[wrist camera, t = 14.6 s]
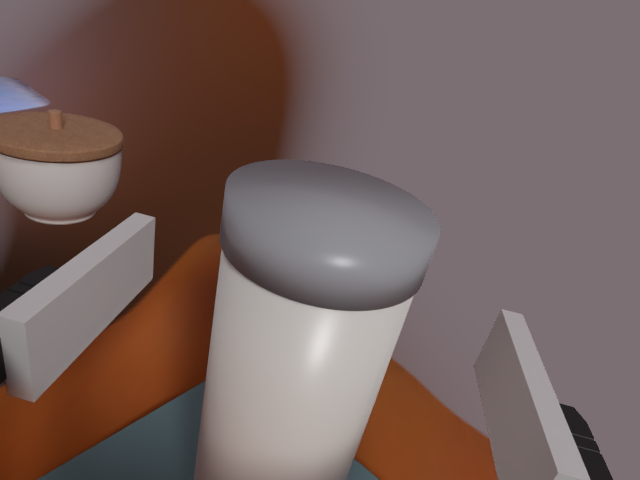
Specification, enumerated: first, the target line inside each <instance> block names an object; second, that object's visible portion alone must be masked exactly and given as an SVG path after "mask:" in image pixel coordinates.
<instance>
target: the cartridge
mask: <svg viewBox="0 0 640 480" xmlns="http://www.w3.org/2000/svg"><path fill="white" fill-rule="evenodd" d="M440 233H441V226H440V223H439V220H438V219H437V217H436V215H435V214H434V213H433V212H432V210H431V209H430V208H429V207H427V206H426V205H425V204H424V203H423V202H422V201H420V200H419V199H418V198H416V197H415V196H413V195H412V194H410V193H408V192H407V191H405V190H403V189H401V188H399V187H397V186H395V185H393V184H391V183H389V182H386V181H384V180H382V179H379V178H377V177H374V176H371V175H368V174H365V173H362V172H359V171H355V170H352V169H348V168H344V167H340V166H335V165H330V164H325V163H318V162H311V161H302V160H269V161H261V162H256V163H251V164H248V165H245V166H243V167H240V168H238V169H237V170H235V171H234V172H232V173H231V175H230V176H229V177H228V179H227V181H226V186H225V195H224V203H223V212H222V220H221V229H220V245H221V248H222V249H221V258H220V266H219V274H218V282H217V291H216V299H215V307H214V315H213V323H212V332H211V340H210V348H209V356H208V364H207V373H206V381H205V389H204V397H203V405H202V414H201V422H200V430H199V438H198V447H197V455H196V463H195V471H194V479H193V480H346V479H347V476H348V473H349V470H350V468H351V465H352V462H353V460H354V457H355V454H356V451H357V449H358V446H359V443H360V441H361V438H362V435H363V432H364V430H365V427H366V424H367V421H368V419H369V416H370V413H371V411H372V408H373V405H374V402H375V400H376V397H377V394H378V392H379V389H380V386H381V383H382V381H383V378H384V375H385V372H386V370H387V367H388V364H389V362H390V359H391V356H392V353H393V351H394V348H395V345H396V342H397V340H398V337H399V334H400V332H401V329H402V326H403V323H404V320H405V318H406V315H407V313H408V310H409V307H410V304H411V302H412V299H413V296H414V295H415V294H416V293H417V292H418V290H419V289H420V287H421V285H422V282H423V280H424V277H425V274H426V271H427V269H428V266H429V263H430V261H431V258H432V255H433V253H434V250H435V247H436V245H437V242H438V239H439V236H440Z"/></svg>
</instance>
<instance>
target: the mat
mask: <svg viewBox="0 0 640 480" xmlns="http://www.w3.org/2000/svg"><path fill="white" fill-rule="evenodd" d="M204 389H205V381H204V382H202V383H201V384H199V385H197V386H195V387H194V388H192V389H190V390H189V391H187V392H185V393H184V394H182V395H180V396H178V397H177V398H175V399H173V400H172V401H170V402H168V403H167V404H165V405H163V406H161V407H160V408H158V409H156V410H155V411H153V412H151V413H150V414H148V415H146V416H144V417H143V418H141V419H139V420H138V421H136V422H134V423H132V424H131V425H129V426H127V427H126V428H124V429H122V430H121V431H119V432H117V433H115V434H114V435H112V436H110V437H109V438H107V439H105V440H104V441H102V442H100V443H98V444H97V445H95V446H93V447H92V448H90V449H88V450H87V451H85V452H83V453H81V454H80V455H78V456H76V457H75V458H73V459H71V460H69V461H68V462H66V463H64V464H63V465H61V466H59V467H58V468H56V469H54V470H52V471H51V472H49V473H47V474H46V475H44V476H42V477H41V478H39V479H37V480H193V479H194V471H195V463H196V455H197V447H198V438H199V430H200V422H201V414H202V405H203V397H204ZM346 480H379V479H378V478H377V477H375V476H374V475H373V474H372V473H371V472H369V471H368V470H367V469H366V468H365V467H364V466H362V465H361V464H360V463H359V462H358V461H357V460H355V459H354V460H353V462H352V465H351V468H350V470H349V473H348V476H347V479H346Z"/></svg>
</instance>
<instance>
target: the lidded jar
mask: <svg viewBox="0 0 640 480" xmlns="http://www.w3.org/2000/svg"><path fill="white" fill-rule="evenodd" d="M122 148H123V134H122V133H121V132H120V130H119V129H117V128H116V127H114V126H113V125H111V124H108V123H106V122H103V121H100V120H97V119H94V118H90V117H85V116H80V115H74V114H66V113H62V111H61V110H57V109H50V110H48V112H18V113H11V114H4V115H0V194H1V195H2V196H3V197H4V198H5V199H6V200H7V202H8V203H10V204H11V205H12V206H14V207H15V208H16V209H18V210H20V211H22V212H23V214H24V215H25V216H26V217H27V218H29V219H31V220H33V221H35V222H39V223H44V224H53V225H67V224H74V223H79V222H83V221H86V220H88V219H90V218H92V217H93V216H94V215H95V214H96V212H97V210H99V209H100V208H102V207H103V206H104V205H105V204H106V203H107V202H108V201H109V200H110V198H111V197H112V195H113V194H114V192H115V189H116V187H117V185H118V181H119V178H120V172H121V163H122Z"/></svg>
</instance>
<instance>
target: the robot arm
mask: <svg viewBox="0 0 640 480" xmlns="http://www.w3.org/2000/svg"><path fill="white" fill-rule="evenodd" d="M154 233H155V218H154V217H151V216H147V215H143V214H140V213H135V214H133V215H132V216H130V217H129V218H128V219H126V220H125V221H124V222H122V223H121V224H119V225H118V226H117V227H115V228H114V229H112V230H111V231H110V232H108V233H107V234H106V235H104V236H103V237H102V238H100V239H99V240H97V241H96V242H95V243H93V244H92V245H91V246H89V247H88V248H87V249H85V250H84V251H83V252H81V253H80V254H78V255H77V256H75V257H74V258H73V259H71V260H70V261H69V262H67V263H66V264H65V265H63V266H62V267H60V268H57V267H53V266H47V267H44V268H41V269H38V270H35V271H33V272H31V273H29V274H28V275H26V276H25V277H23V278H22V279H20V280H19V281H18V283H15V284H13V285H12V286H10V287H9V288H8V289H7V291H6V290H4V291H3V292H1V293H0V384H1V383H2V382H3V381H4V380H6V387H7V393H8V395H10V396H13V397H17V398H20V399H23V400H27V401H30V402H35V401H36V400H37V399H38V398H39V397H40V396H41V395H42V394H43V393H44V392H45V391H46V390H47V389H48V388H49V386H50V385H51V384H52V383H53V382H54V381H55V380H56V379H57V378H58V377H59V376H60V375H61V374H62V373H63V372H64V371H65V370H66V369H67V368H68V367H69V366H70V365H71V363H72V362H73V361H74V360H75V359H76V358H77V357H78V356H79V355H80V354H81V353H82V352H83V351H84V350H85V349H86V348H87V347H88V346H89V345H90V344H91V343H92V341H93V340H94V339H95V338H96V337H97V336H98V335H99V334H100V333H101V332H102V331H103V330H104V329H105V328H106V327H107V326H108V325H109V324H110V323H111V322H112V321H113V319H114V318H115V317H116V316H117V315H118V314H119V313H120V312H121V311H122V310H123V309H124V308H125V307H126V306H127V305H128V304H129V303H130V302H131V301H132V299H133V298H135V296H136V295H137V294H138V293H139V292H140V291H141V290H142V289H143V288H144V287H145V286H146V285H147V284H148V283H149V282H150V281H151V280H152V278H153V255H154ZM474 368H475V373H476V378H477V382H478V387H479V392H480V397H481V401H482V406H483V411H484V415H485V420H486V425H487V430H488V435H489V439H490V444H491V449H492V454H493V458H494V463H495V468H496V472H497V477H498V480H613V479H612V476H611V474H610V472H609V470H608V468H607V465H606V463H605V461H604V459H603V457H602V455H601V454H600V451H599V448H598V446H597V444H596V442H595V441H594V437H593V435H592V433H591V431H590V429H589V426H588V424H587V422H586V421H585V420H584V419H583V418H582V416H581V415H580V414H579V413H578V412H577V411H576V409H575V408H573V407H570V406H567V405H563V404H560V403H559V402H558V400H557V397H556V395H555V392H554V390H553V387H552V385H551V383H550V380H549V378H548V375H547V373H546V370H545V368H544V366H543V363H542V361H541V358H540V356H539V353H538V351H537V349H536V346H535V344H534V341H533V339H532V337H531V334H530V332H529V329H528V327H527V324H526V322H525V320H524V317H523V315H522V314H518V313H515V312H510V311H507V310H503V309H501V311H500V313H499V315H498V317H497V319H496V321H495V323H494V326H493V328H492V330H491V332H490V334H489V336H488V338H487V340H486V342H485V344H484V346H483V348H482V350H481V352H480V355H479V356H478V358H477V360H476V362H475V365H474Z"/></svg>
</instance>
